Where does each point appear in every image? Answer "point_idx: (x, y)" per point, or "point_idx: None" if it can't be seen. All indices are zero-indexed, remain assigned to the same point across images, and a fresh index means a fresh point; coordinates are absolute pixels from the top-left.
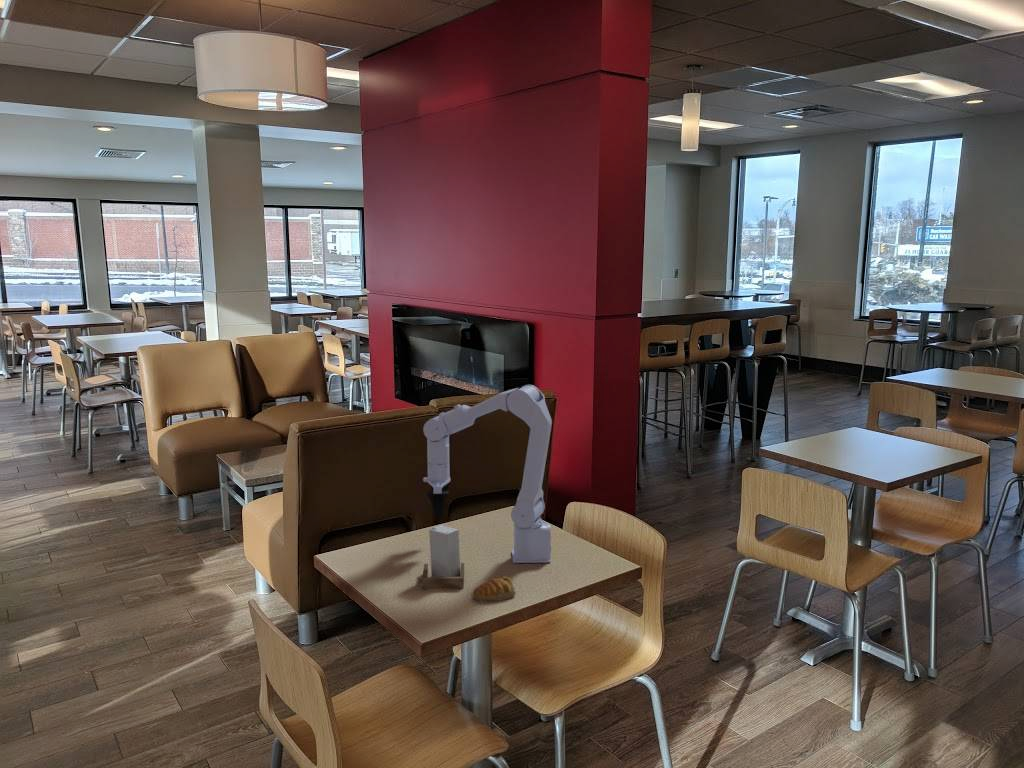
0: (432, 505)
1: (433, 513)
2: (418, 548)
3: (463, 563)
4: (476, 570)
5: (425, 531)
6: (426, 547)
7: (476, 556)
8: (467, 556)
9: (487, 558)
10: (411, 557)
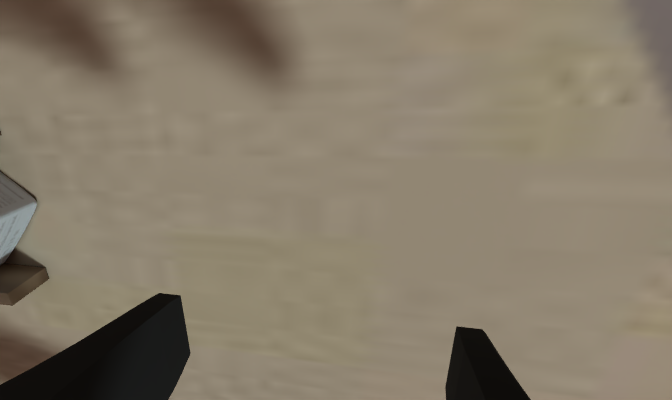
0: (19, 381)
1: (131, 309)
2: (319, 75)
3: (6, 303)
4: (82, 320)
5: (637, 114)
6: (333, 124)
7: (218, 337)
8: (215, 306)
9: (200, 369)
10: (179, 37)
